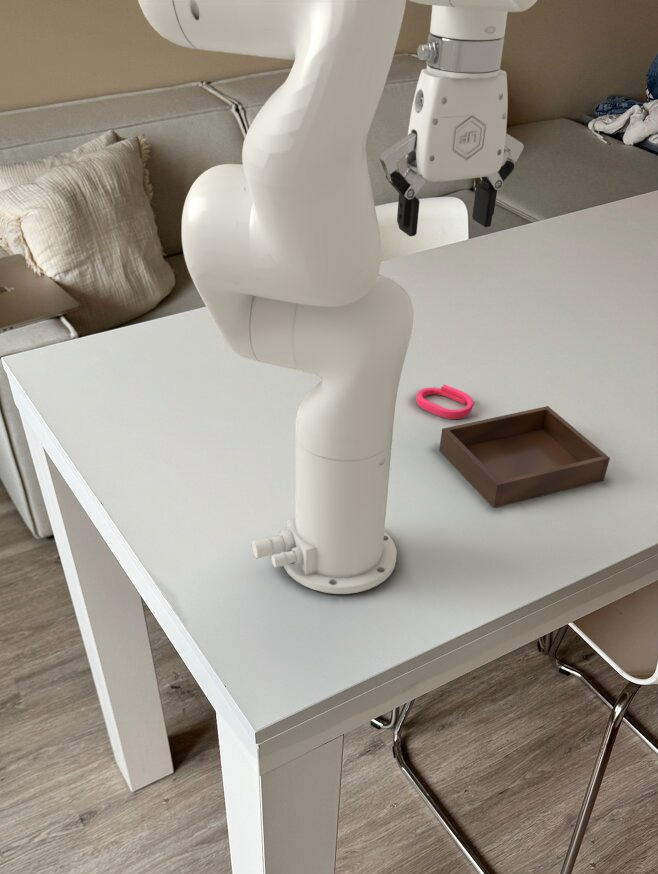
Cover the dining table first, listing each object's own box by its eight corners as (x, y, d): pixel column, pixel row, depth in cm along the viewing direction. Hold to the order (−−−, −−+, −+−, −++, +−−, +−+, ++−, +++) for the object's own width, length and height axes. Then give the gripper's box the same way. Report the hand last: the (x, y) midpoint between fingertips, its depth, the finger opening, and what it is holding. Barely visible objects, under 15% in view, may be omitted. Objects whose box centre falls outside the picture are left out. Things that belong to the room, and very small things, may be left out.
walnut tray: (493, 508, 105) (497, 485, 103) (438, 450, 114) (441, 428, 112) (603, 480, 110) (610, 457, 108) (543, 427, 119) (548, 405, 117)
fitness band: (480, 408, 123) (482, 398, 122) (457, 424, 119) (458, 414, 118) (431, 388, 126) (432, 379, 125) (407, 404, 123) (408, 394, 122)
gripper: (405, 67, 86) (391, 247, 97) (556, 58, 91) (526, 230, 102) (372, 52, 91) (362, 225, 102) (516, 45, 96) (492, 210, 107)
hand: (444, 227), depth 102 cm, fingers open, 9 cm apart
